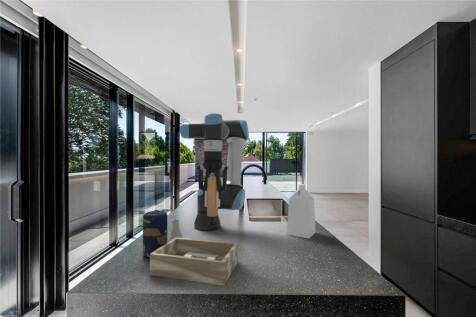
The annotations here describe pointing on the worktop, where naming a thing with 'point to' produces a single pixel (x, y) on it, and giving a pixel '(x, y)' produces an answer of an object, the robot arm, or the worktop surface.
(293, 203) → the milk
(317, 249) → the worktop surface
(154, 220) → the canister
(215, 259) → the open box
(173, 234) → the flask
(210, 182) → the peg
